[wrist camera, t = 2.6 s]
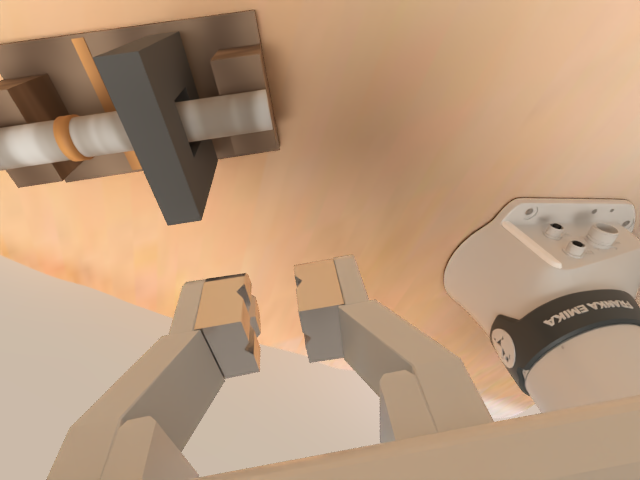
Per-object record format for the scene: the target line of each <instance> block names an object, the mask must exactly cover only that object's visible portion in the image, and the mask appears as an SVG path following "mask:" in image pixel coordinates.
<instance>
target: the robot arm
mask: <svg viewBox="0 0 640 480" xmlns="http://www.w3.org/2000/svg"><path fill="white" fill-rule="evenodd" d="M635 215H636V214H635V208H634V205H633V204H631V203H630V202H629V201H627V200H618V199H554V198H517V199H514V200H512V201H511V202H510V203H508V204H507V205H506V206H505V207H504V208H503V209H502V210H501V212H500V213H499V214H498V215H497V216H496V217H495V218H494V220H492V221H491V222H490V223H489V224H487V225H486V226H484V227H483V228H481V229H480V230H478V231H477V232H475V233H474V234H472V235H471V236H470V237H469V238H468V239H466V240H465V241H464V242H463V243H462V244H461V245H460V246H459V247H458V249H457V250H456V251H455V252H454V254H453V255H452V257H451V258H450V260H449V262H448V264H447V267H446V269H445V273H444V286H445V290H446V292H447V293H448V295H449V296H450V297H451V298H452V299H453V300H454V301H456V302H457V303H458V304H459V305H461V306H462V307H463V308H464V309H465V310H466V311H467V312H468V313H469V314H470V315H471V316H472V317H473V318H474V319H475V321H476V322H477V323H478V324H479V325H480V326H481V328H482V329H483V330H484V331H485V332H486V334H487V335H488V336H489V338H490V340H491V343H492V345H493V346H494V348H495V350H496V352H497V354H498V355H499V357H500V359H501V360H502V362H503V363H504V365H505V367H506V368H507V370H508V371H509V373H510V374H511V376H512V377H513V379H514V380H515V382H516V383H517V385H518V386H519V387H520V389H521V390H522V391H523V392H524V393H525V394H527V395H529V396H531V398H532V399H533V401H534V402H535V404H536V405H537V407H538V408H539V410H540V411H541V413H540V414H535V415H529V416H524V417H519V418H513V419H508V420H503V421H497V422H494V421H493V419H492V417H491V415H490V413H489V411H488V409H487V408H486V406H485V404H484V402H483V400H482V398H481V396H480V394H479V392H478V391H477V389H476V387H475V385H474V383H473V381H472V379H471V377H470V375H469V373H468V372H467V370H466V368H465V366H464V364H463V362H462V360H461V358H459V357H458V356H456V355H455V354H453V353H452V352H450V351H449V350H447V349H446V348H445V347H443V346H442V345H440V344H439V343H437V342H436V341H434V340H433V339H432V338H430V337H429V336H427V335H426V334H424V333H423V332H421V331H420V330H419V329H417V328H416V327H414V326H413V325H411V324H410V323H408V322H407V321H406V320H404V319H403V318H401V317H400V316H398V315H397V314H395V313H394V312H393V311H391V310H390V309H388V308H387V307H385V306H384V305H382V304H381V303H380V302H378V301H377V300H370V301H369V298H368V295H367V292H366V289H365V286H364V284H363V281H362V278H361V275H360V272H359V269H358V266H357V263H356V260H355V257H354V256H353V255H346V256H341V257H336V258H333V259H327V260H321V261H316V262H310V263H304V264H298V265H294V274H295V280H296V285H297V289H296V294H297V303H298V312H299V317H300V321H301V326H302V331H303V333H304V336H305V345H306V349H307V354H308V358H309V362H310V363H311V362H318V361H325V360H331V359H338V358H344V360H345V361H346V362H347V363H348V364H349V365H350V366H351V367H352V368H353V369H354V370H355V371H356V372H357V374H358V375H359V376H360V377H361V378H362V379H363V380H364V381H365V382H366V383H367V384H368V385H369V386H370V388H371V389H372V390H373V391H374V392H375V393H376V394H377V395H378V396H379V397H380V444H375V445H369V446H364V447H359V448H353V449H348V450H342V451H338V452H332V453H326V454H322V455H316V456H311V457H305V458H300V459H295V460H289V461H284V462H278V463H273V464H268V465H262V466H257V467H252V468H246V469H241V470H236V471H231V472H225V473H220V474H215V475H209V476H204V477H199V474H198V473H197V472H196V471H195V469H194V468H193V467H192V466H191V464H190V463H189V462H188V461H187V459H186V458H185V457H184V456H183V455H182V453H181V452H182V450H183V449H184V447H185V445H186V444H187V442H188V440H189V439H190V437H191V436H192V434H193V432H194V430H195V429H196V427H197V426H198V424H199V422H200V421H201V419H202V418H203V416H204V414H205V413H206V411H207V409H208V408H209V406H210V404H211V403H212V401H213V400H214V398H215V396H216V395H217V393H218V392H219V390H220V388H221V387H222V385H223V383H224V382H225V380H224V379H226V378H230V377H235V376H241V375H245V374H250V373H255V372H260V346H259V343H258V340H257V337H258V336H259V335H260V333H261V323H260V313H259V308H258V304H257V300H256V297H254V296H253V295H251V288H252V284H251V281H250V279H249V276H248V274H247V273H243V274H237V275H230V276H223V277H216V278H209V279H204V280H197V281H190V282H186V283H185V284H184V285H183V286H182V289H181V293H180V296H179V300H178V303H177V307H176V310H175V314H174V317H173V321H172V325H171V328H170V331H169V335H166V336H162V337H161V338H160V339H159V340H158V341H157V342H156V343H155V344H154V345H153V346H152V347H151V348H150V349H149V350H148V351H147V352H146V353H145V354H144V355H143V356H142V357H141V358H140V359H139V360H138V361H137V362H136V363H135V364H134V365H133V366H132V367H131V368H130V369H129V370H128V371H127V372H125V373H124V375H123V376H122V377H120V378H119V380H117V381H116V382H115V383H114V384H113V385H112V386H111V387H110V389H108V390H107V391H106V392H105V393H104V394H103V395H102V396H101V397H100V399H98V400H97V401H96V403H94V404H93V405H92V406H91V407H90V409H88V410H87V411H86V412H85V413H84V414H83V415H82V416H81V417H80V418H79V419H78V420H77V421H76V422H75V423H74V424H73V425H72V426H71V427H70V429H69V430H68V433H67V435H66V437H65V439H64V442H63V444H62V446H61V448H60V450H59V453H58V455H57V457H56V460H55V461H54V464H53V466H52V468H51V470H50V473H49V475H48V477H47V479H46V480H640V308H639V306H638V305H637V303H636V301H635V299H636V296H637V294H638V291H639V288H640V239H638V238H637V237H636V236H635V235H634V234H632V231H633V228H634V224H635Z"/></svg>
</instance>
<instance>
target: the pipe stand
mask: <svg viewBox="0 0 640 480" xmlns="http://www.w3.org/2000/svg"><path fill="white" fill-rule="evenodd" d="M177 31H179V33H180V36H181V40H182V43H183V46H184V50H185V53H186V56H187V59H188V63H189V66H190V69H191V73H192V76H193V79H194V83H195V86H196V89H197V93H198V96H199V99H195V100H189V101H182V102H175V104H176V107H177V110H178V113H179V116H180V119H181V122H182V124H183V127H184V130H185V133H186V136H187V139H188V142H194V141H201V140H207V139H212V142H213V145H214V149H215V152H216V155H217V159H223V158H230V157H236V156H243V155H249V154H256V153H262V152H269V151H276V150H280V146H279V140H278V135H277V129H276V124H275V118H274V113H273V108H272V102H271V97H270V91H269V86H268V80H267V75H266V69H265V64H264V59H263V53H262V48H261V42H260V37H259V31H258V26H257V20H256V15H255V10H249V11H242V12H234V13H227V14H220V15H212V16H205V17H198V18H190V19H183V20H176V21H168V22H161V23H153V24H146V25H139V26H131V27H124V28H117V29H109V30H102V31H95V32H87V33H80V34H72V35H65V36H58V37H50V38H43V39H36V40H28V41H21V42H14V43H6V44H0V74H1V76H2V77H3V79H4V80H1V81H0V170H6V171H7V172H8V174H9V175H10V177H11V178H12V180H13V181H14V182H15V184H16V185H17V187H18V188H20V187H26V186H33V185H39V184H46V183H52V182H59V181H63V180H65V181H66V182H72V181H79V180H85V179H92V178H98V177H105V176H111V175H118V174H125V173H131V172H138V171H143V169H142V167H141V165H140V162H139V160H138V158H137V156H136V154H135V151H134V149H133V147H132V145H131V142H130V140H129V138H128V136H127V134H126V131H125V129H124V127H123V125H122V122H121V120H120V118H119V116H118V113H117V111H116V109H115V107H114V105H113V102H112V100H111V98H110V96H109V93H108V91H107V89H106V87H105V85H104V82H103V80H102V78H101V76H100V73H99V71H98V69H97V67H96V64H95V62H94V60H93V57H95V56H98V55H100V54H103V53H105V52H108V51H110V50H113V49H115V48H118V47H120V46H123V45H125V44H128V43H130V42H133V41H135V40H138V39H140V38H143V37H145V36H148V35H155V34H162V33H169V32H177Z"/></svg>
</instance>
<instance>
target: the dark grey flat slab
mask: <svg viewBox="0 0 640 480" xmlns="http://www.w3.org/2000/svg"><path fill="white" fill-rule="evenodd" d="M93 60H94V62H95V64H96V67H97V69H98V71H99V73H100V76H101V78H102V80H103V82H104V85H105V87H106V89H107V91H108V93H109V96H110V98H111V100H112V102H113V105H114V107H115V109H116V111H117V113H118V116H119V118H120V120H121V122H122V125H123V127H124V129H125V131H126V134H127V136H128V138H129V140H130V142H131V145H132V147H133V149H134V151H135V154H136V156H137V158H138V160H139V162H140V165H141V167H142V169H143V171H144V174H145V176H146V178H147V180H148V183H149V185H150V187H151V189H152V191H153V194H154V196H155V198H156V200H157V203H158V205H159V207H160V209H161V211H162V214H163V216H164V218H165V220H166V223H167V225H168V226H169V225H175V224H181V223H187V222H194V221H200V220H202V217H203V213H204V209H205V206H206V202H207V198H208V195H209V191H210V187H211V184H212V180H213V177H214V173H215V169H216V166H217V162H218V159H217V155H216V152H215V149H214V145H213V142H212V139H207V140H201V141H194V142H188V139H187V136H186V133H185V130H184V127H183V124H182V122H181V119H180V116H179V113H178V110H177V107H176V104H175V102H182V101H189V100H195V99H199V96H198V93H197V89H196V86H195V83H194V79H193V76H192V73H191V69H190V66H189V63H188V59H187V56H186V53H185V50H184V46H183V43H182V40H181V36H180V33H179V31H177V32H169V33H162V34H155V35H148V36H145V37H143V38H140V39H138V40H135V41H133V42H130V43H128V44H125V45H123V46H120V47H118V48H115V49H113V50H110V51H108V52H105V53H103V54H100V55H98V56H95V57H93Z"/></svg>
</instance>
